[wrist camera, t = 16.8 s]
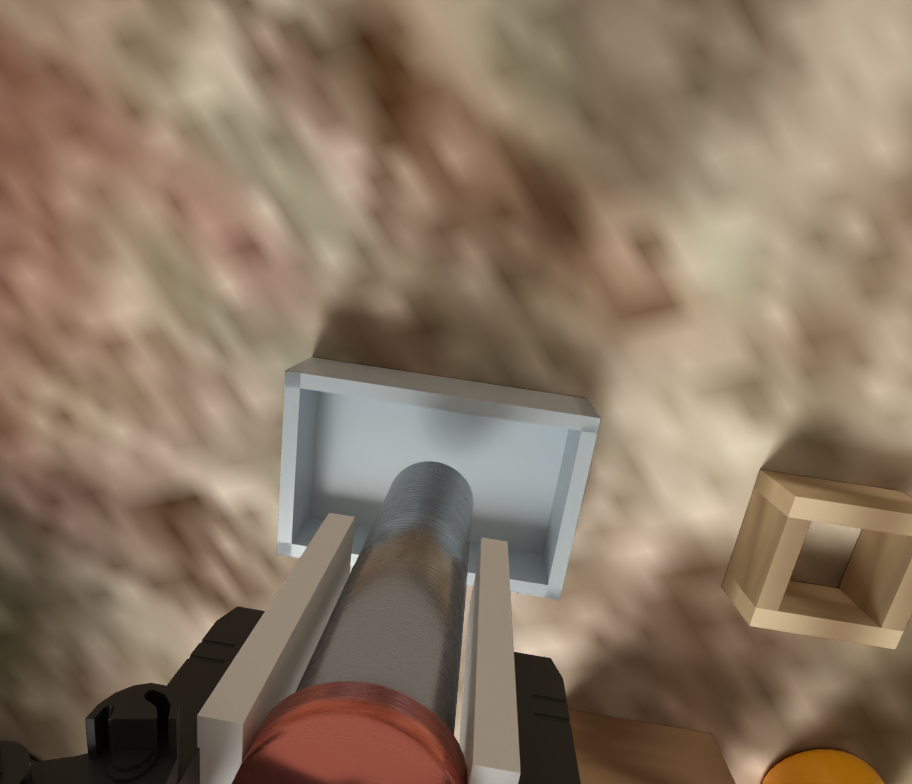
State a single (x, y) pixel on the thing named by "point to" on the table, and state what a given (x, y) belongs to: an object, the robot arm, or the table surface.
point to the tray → (436, 459)
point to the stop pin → (384, 654)
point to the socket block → (865, 580)
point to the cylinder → (822, 769)
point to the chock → (644, 752)
